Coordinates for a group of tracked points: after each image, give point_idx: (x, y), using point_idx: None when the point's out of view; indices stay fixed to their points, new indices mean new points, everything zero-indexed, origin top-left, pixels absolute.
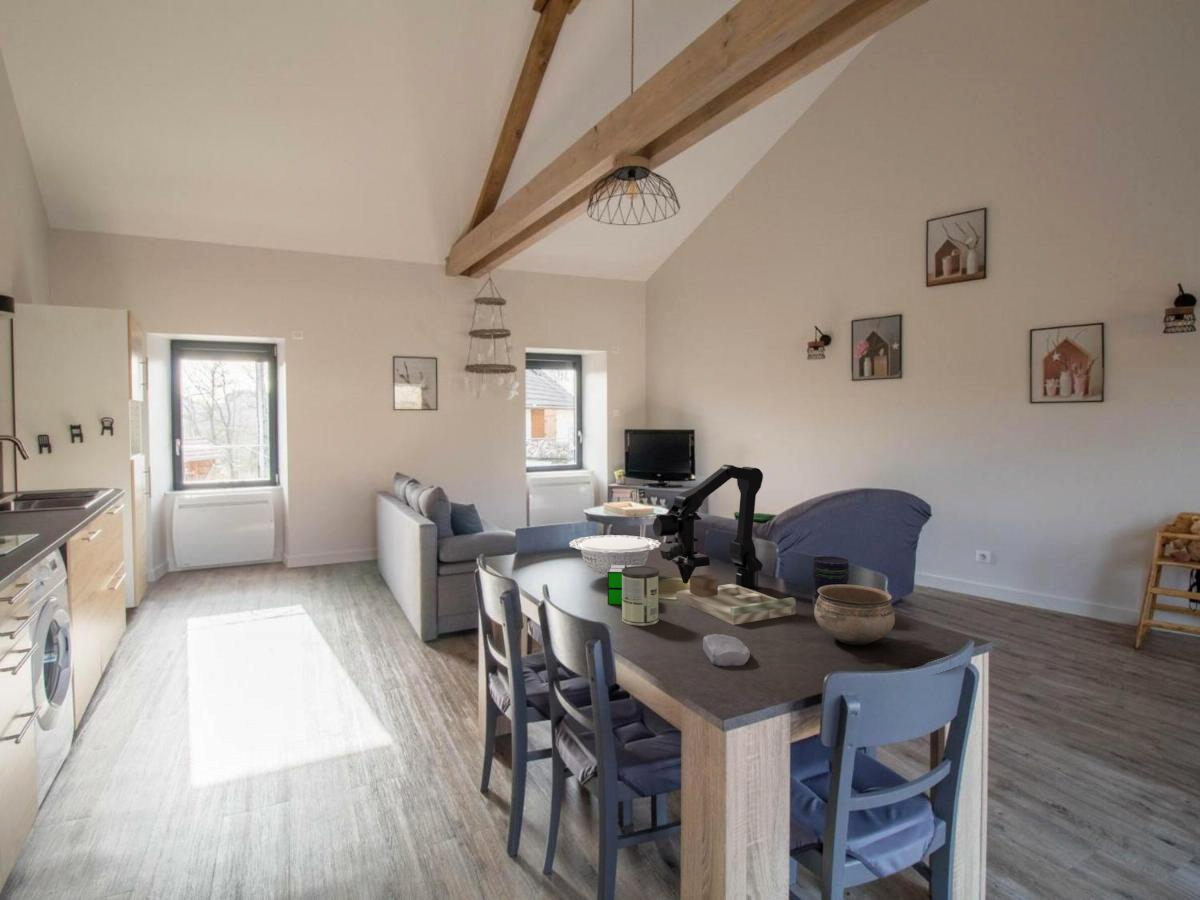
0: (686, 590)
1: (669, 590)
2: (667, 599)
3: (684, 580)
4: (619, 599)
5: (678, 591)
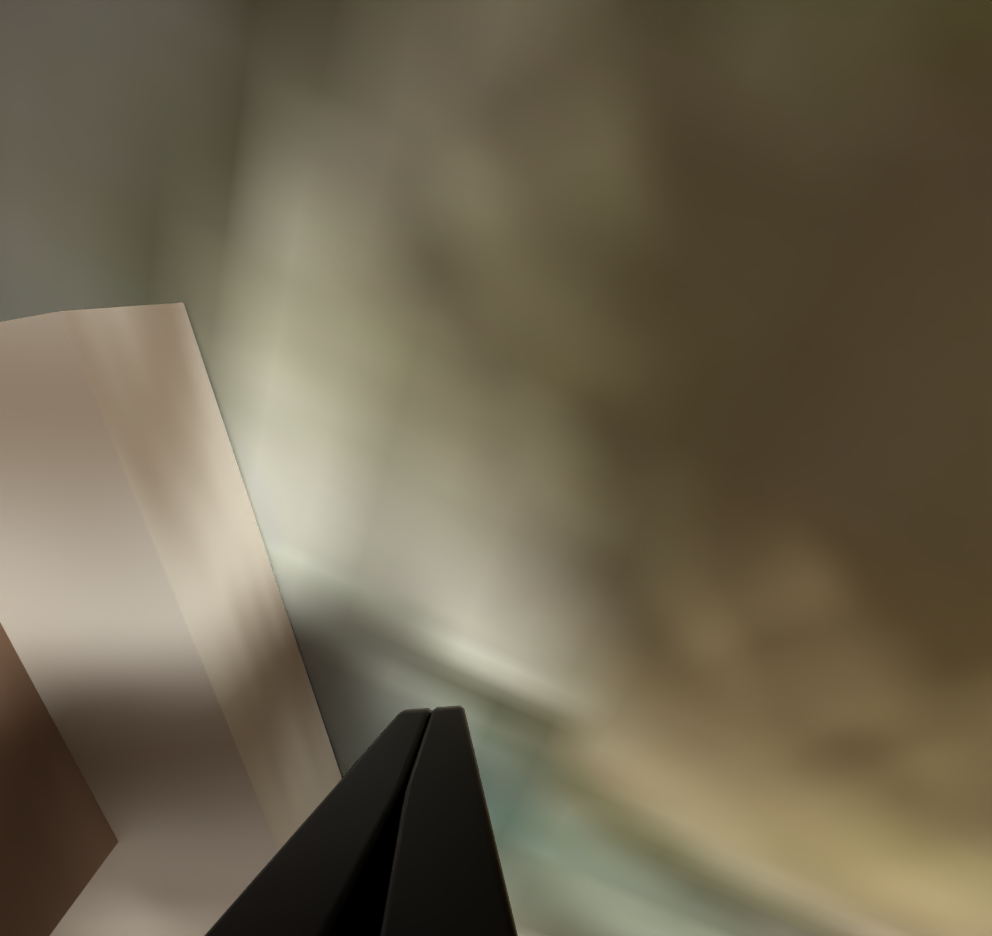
0: (142, 570)
1: (812, 461)
2: (223, 140)
3: (356, 766)
4: None
5: (69, 374)
